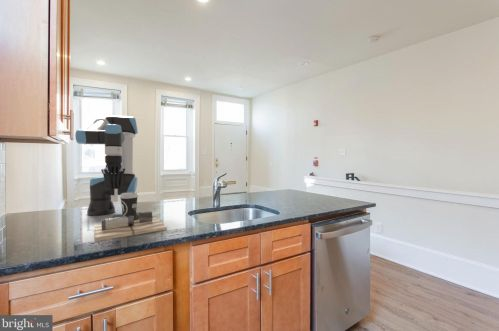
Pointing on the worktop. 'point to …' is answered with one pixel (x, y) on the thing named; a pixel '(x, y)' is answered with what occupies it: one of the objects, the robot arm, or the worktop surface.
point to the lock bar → (117, 222)
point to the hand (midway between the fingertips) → (114, 201)
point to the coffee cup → (129, 204)
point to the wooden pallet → (131, 228)
